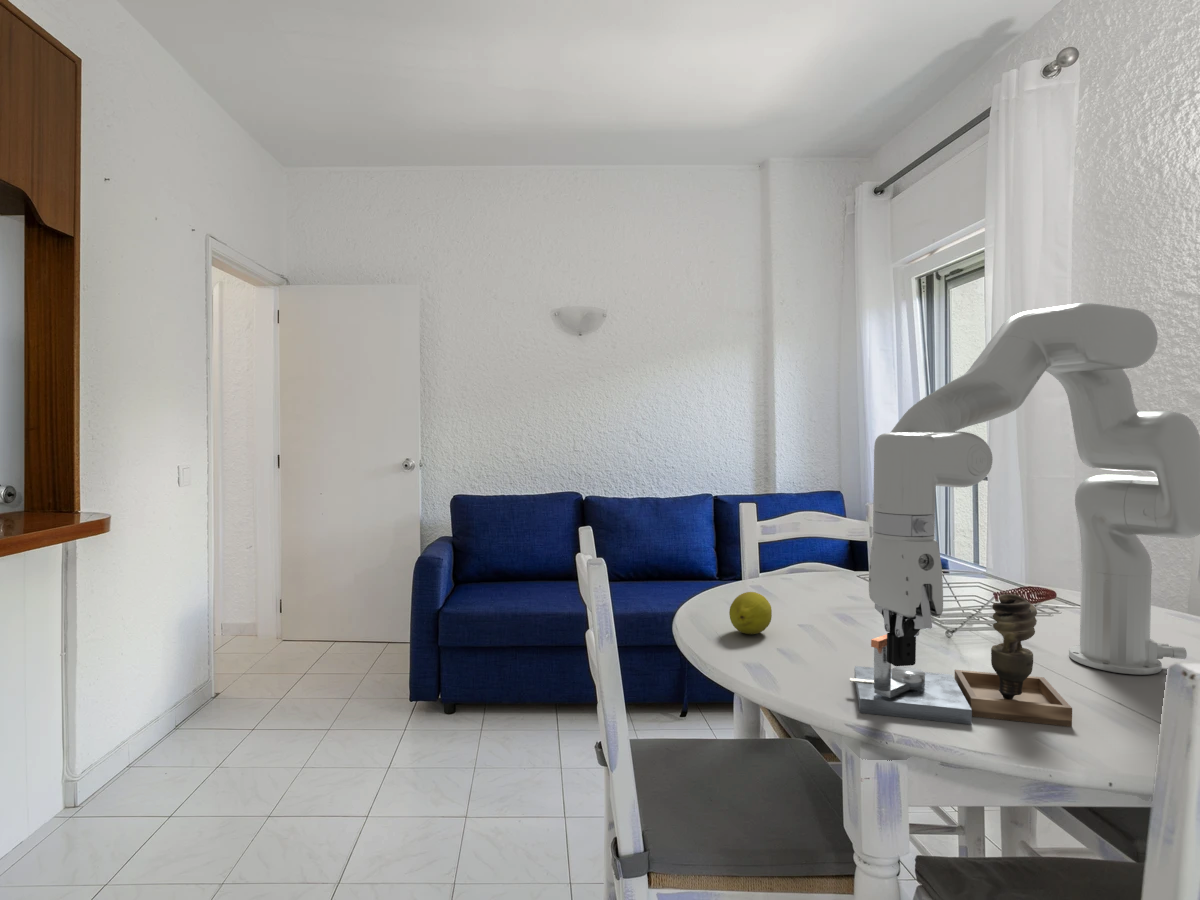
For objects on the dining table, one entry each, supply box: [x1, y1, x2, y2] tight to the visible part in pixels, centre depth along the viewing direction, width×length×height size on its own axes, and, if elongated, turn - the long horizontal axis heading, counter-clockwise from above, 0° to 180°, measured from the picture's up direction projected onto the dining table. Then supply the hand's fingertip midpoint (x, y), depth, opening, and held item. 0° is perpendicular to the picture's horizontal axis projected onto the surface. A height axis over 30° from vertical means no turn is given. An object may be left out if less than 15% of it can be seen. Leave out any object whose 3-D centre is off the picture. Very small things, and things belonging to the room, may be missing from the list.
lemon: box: [728, 591, 773, 635], centre depth 136 cm, size 11×8×8 cm
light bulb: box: [990, 593, 1038, 699], centre depth 100 cm, size 6×6×15 cm
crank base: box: [849, 665, 973, 726], centre depth 103 cm, size 15×14×2 cm
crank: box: [870, 633, 925, 698], centre depth 100 cm, size 11×4×8 cm, turn 128°
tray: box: [954, 669, 1073, 728], centre depth 100 cm, size 12×12×2 cm
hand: (900, 663), depth 93 cm, fingers closed
